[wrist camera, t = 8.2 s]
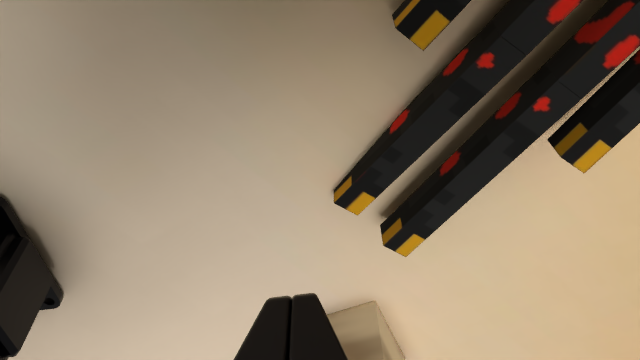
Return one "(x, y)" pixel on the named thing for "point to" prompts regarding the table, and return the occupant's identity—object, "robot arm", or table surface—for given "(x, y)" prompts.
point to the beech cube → (365, 333)
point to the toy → (512, 118)
